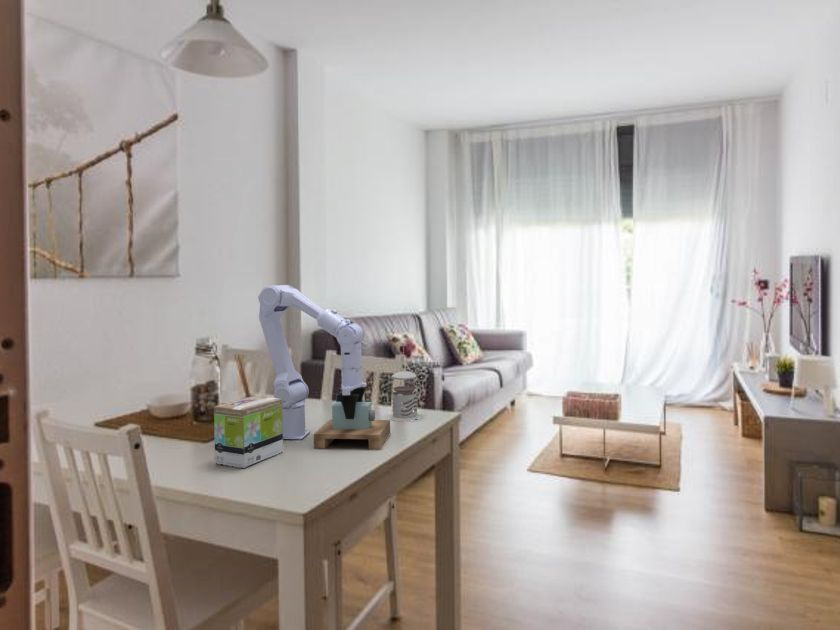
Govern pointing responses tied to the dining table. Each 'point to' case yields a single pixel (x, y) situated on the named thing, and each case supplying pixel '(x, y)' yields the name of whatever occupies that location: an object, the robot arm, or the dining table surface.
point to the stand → (353, 434)
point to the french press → (404, 396)
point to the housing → (361, 417)
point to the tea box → (248, 431)
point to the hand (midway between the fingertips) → (353, 415)
